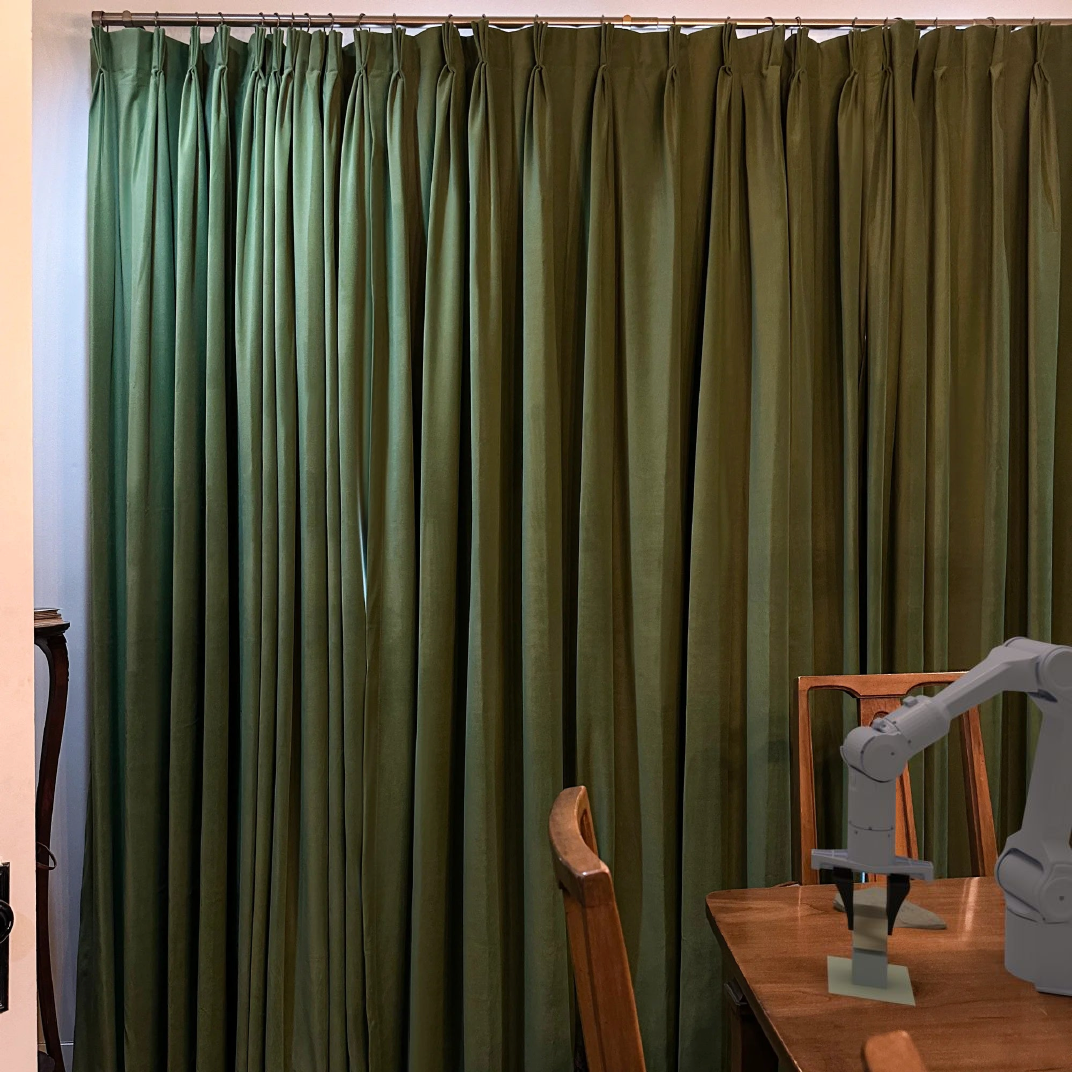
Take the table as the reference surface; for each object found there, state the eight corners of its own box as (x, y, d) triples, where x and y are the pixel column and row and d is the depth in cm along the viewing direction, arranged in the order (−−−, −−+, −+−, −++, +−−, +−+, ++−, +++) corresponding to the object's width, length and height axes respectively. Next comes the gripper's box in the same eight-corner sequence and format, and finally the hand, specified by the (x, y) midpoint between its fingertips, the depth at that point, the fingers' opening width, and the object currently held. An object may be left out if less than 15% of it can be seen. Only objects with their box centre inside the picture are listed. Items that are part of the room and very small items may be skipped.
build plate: (906, 974, 120) (906, 966, 120) (915, 1013, 110) (915, 1005, 110) (826, 963, 122) (827, 955, 122) (828, 1000, 113) (828, 992, 113)
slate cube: (884, 974, 118) (884, 943, 117) (887, 989, 114) (887, 957, 114) (851, 969, 119) (852, 939, 119) (853, 984, 115) (853, 953, 115)
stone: (950, 939, 131) (951, 921, 131) (892, 950, 127) (892, 931, 127) (877, 897, 145) (878, 881, 145) (823, 906, 141) (823, 890, 141)
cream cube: (884, 937, 118) (885, 907, 118) (887, 951, 114) (887, 920, 114) (852, 933, 119) (852, 903, 119) (853, 947, 115) (853, 915, 115)
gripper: (929, 819, 118) (927, 923, 118) (811, 808, 122) (810, 909, 122) (936, 837, 111) (934, 948, 111) (812, 825, 115) (810, 931, 115)
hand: (869, 929), depth 116 cm, fingers closed on cream cube, 4 cm apart
